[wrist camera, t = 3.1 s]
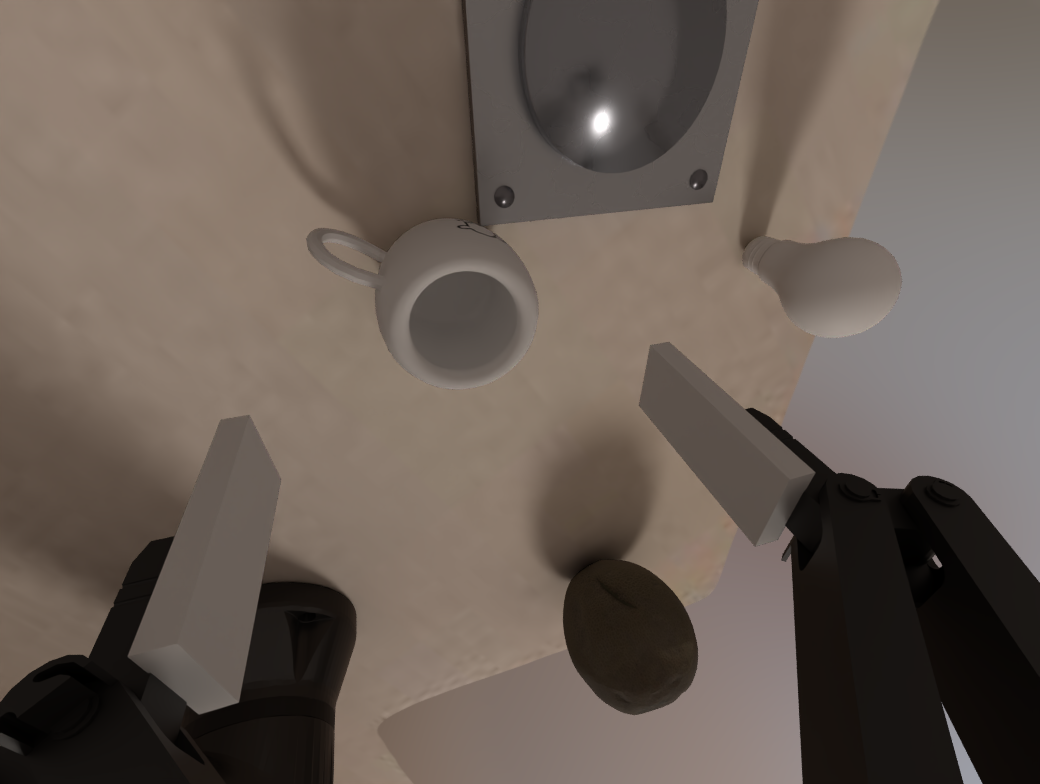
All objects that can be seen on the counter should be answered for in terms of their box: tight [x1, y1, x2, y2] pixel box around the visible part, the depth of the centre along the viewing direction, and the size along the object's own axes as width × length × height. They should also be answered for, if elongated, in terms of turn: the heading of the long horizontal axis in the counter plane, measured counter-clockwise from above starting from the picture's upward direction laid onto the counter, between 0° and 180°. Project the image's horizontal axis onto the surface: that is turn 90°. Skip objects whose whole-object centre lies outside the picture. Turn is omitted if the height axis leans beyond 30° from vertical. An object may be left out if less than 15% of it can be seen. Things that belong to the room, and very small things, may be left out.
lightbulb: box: [742, 236, 902, 338], centre depth 30 cm, size 6×6×11 cm
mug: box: [306, 218, 538, 390], centre depth 24 cm, size 12×8×8 cm
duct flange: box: [462, 0, 759, 226], centre depth 23 cm, size 16×16×2 cm
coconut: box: [563, 559, 698, 715], centre depth 49 cm, size 14×14×15 cm
